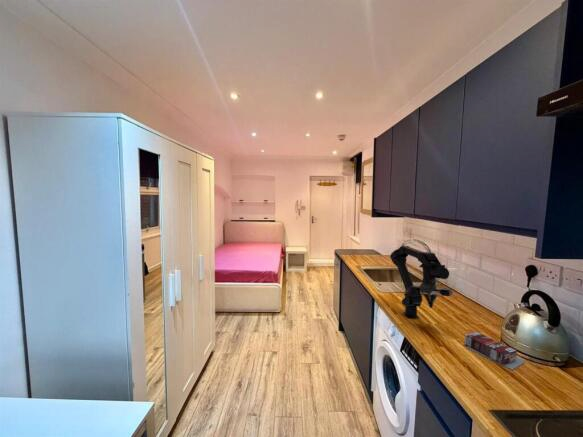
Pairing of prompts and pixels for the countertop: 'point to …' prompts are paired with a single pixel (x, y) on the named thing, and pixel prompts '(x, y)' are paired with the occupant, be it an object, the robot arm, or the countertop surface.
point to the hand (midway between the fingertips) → (431, 307)
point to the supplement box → (490, 348)
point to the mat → (509, 365)
